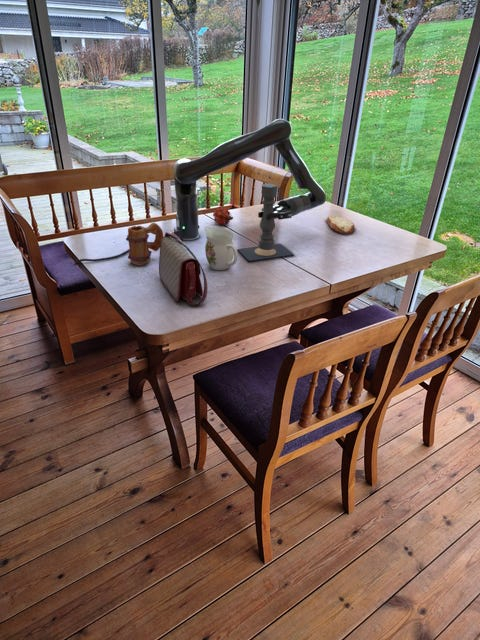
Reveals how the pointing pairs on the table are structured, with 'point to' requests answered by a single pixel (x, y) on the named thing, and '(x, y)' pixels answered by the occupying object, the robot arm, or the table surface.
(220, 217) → the dragon fruit
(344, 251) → the table surface
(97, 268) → the table surface
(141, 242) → the mug
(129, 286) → the table surface
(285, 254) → the placemat
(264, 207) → the candle holder
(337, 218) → the bread slice
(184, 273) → the handbag
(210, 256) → the pitcher
